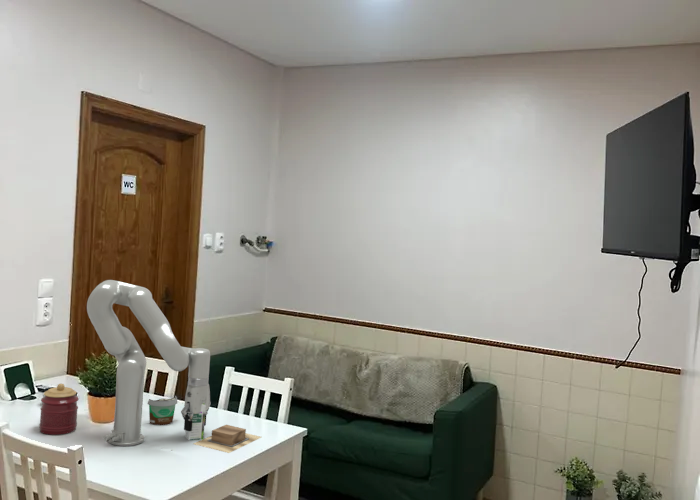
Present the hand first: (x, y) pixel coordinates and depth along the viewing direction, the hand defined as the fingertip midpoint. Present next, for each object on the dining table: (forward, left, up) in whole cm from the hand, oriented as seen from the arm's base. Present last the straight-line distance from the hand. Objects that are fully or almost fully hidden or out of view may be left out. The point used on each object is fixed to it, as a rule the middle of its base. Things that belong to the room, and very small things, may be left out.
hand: (194, 427), depth 242 cm
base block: (+5, -12, -4) cm, 14 cm away
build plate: (+5, -12, -5) cm, 14 cm away
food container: (+9, +22, -5) cm, 24 cm away
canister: (-21, +47, -5) cm, 52 cm away
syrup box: (0, 0, -5) cm, 5 cm away
